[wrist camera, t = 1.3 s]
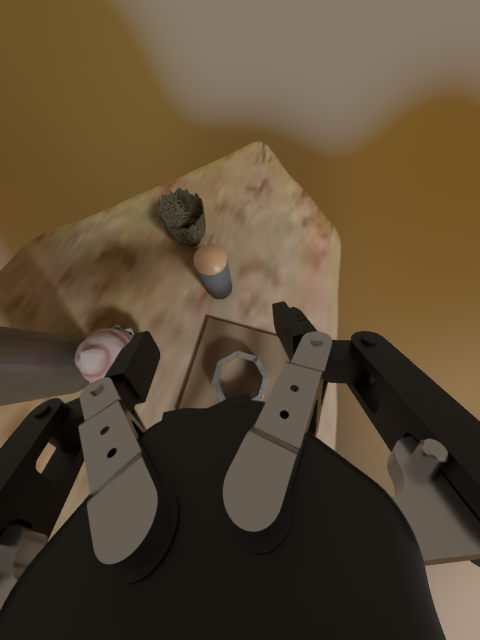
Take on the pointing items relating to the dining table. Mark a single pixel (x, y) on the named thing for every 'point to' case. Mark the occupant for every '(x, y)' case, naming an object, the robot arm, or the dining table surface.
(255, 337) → the board
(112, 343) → the cupcake
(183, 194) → the cup
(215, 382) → the grey octagonal sleeve
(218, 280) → the grey cylinder tan top
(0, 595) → the robot arm
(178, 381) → the dining table surface
